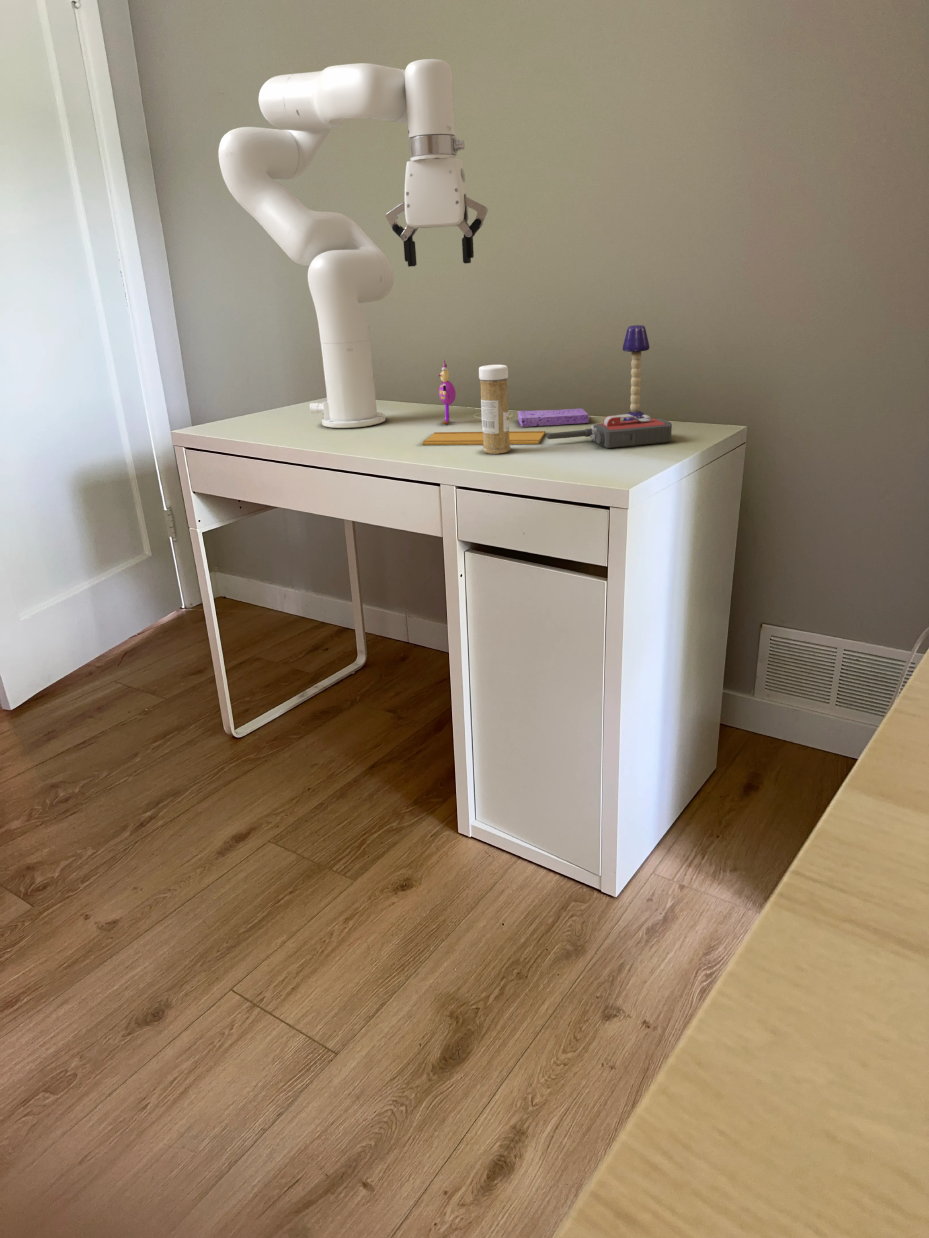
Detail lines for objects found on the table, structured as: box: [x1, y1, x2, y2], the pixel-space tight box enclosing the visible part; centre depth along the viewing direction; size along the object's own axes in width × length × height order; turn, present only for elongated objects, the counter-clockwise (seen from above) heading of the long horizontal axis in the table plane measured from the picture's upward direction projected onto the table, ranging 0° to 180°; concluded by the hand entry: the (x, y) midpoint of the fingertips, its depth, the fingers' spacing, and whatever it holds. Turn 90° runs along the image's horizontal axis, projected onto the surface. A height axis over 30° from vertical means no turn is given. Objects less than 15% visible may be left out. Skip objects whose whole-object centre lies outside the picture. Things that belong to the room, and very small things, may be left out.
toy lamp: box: [622, 324, 650, 421], centre depth 152 cm, size 5×5×17 cm
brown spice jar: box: [478, 364, 511, 455], centre depth 135 cm, size 5×5×13 cm
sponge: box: [517, 408, 590, 428], centre depth 159 cm, size 7×13×2 cm, turn 91°
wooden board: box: [422, 430, 546, 446], centre depth 148 cm, size 20×9×1 cm, turn 77°
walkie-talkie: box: [546, 413, 673, 449], centre depth 139 cm, size 9×4×20 cm
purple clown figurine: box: [438, 358, 457, 425], centre depth 161 cm, size 11×3×12 cm, turn 179°
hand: (439, 264), depth 145 cm, fingers open, 9 cm apart
